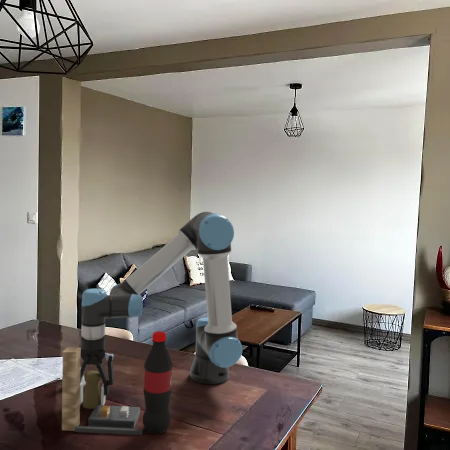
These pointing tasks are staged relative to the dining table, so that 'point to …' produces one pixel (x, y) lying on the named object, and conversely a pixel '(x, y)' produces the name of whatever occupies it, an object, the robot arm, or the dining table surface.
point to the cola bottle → (157, 386)
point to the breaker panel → (114, 416)
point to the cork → (92, 390)
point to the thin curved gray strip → (108, 430)
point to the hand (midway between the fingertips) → (91, 403)
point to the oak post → (71, 388)
